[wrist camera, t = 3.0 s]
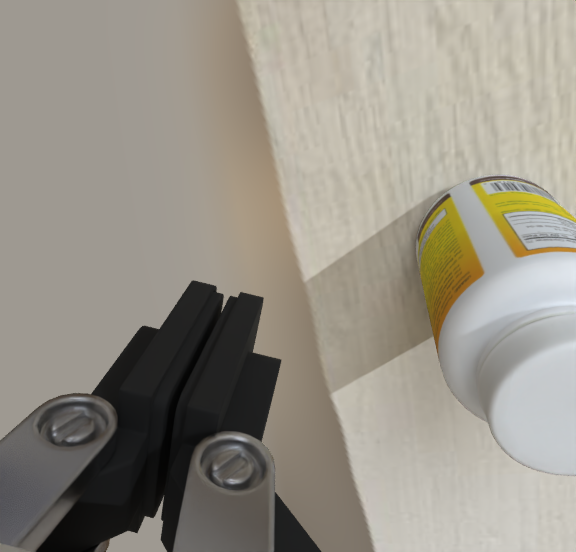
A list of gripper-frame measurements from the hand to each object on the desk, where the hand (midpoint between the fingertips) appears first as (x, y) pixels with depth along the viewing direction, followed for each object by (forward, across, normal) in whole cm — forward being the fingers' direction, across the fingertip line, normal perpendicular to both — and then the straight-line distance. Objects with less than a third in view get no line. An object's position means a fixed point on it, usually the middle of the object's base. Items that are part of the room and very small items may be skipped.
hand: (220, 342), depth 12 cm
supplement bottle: (+10, -8, -1) cm, 13 cm away
